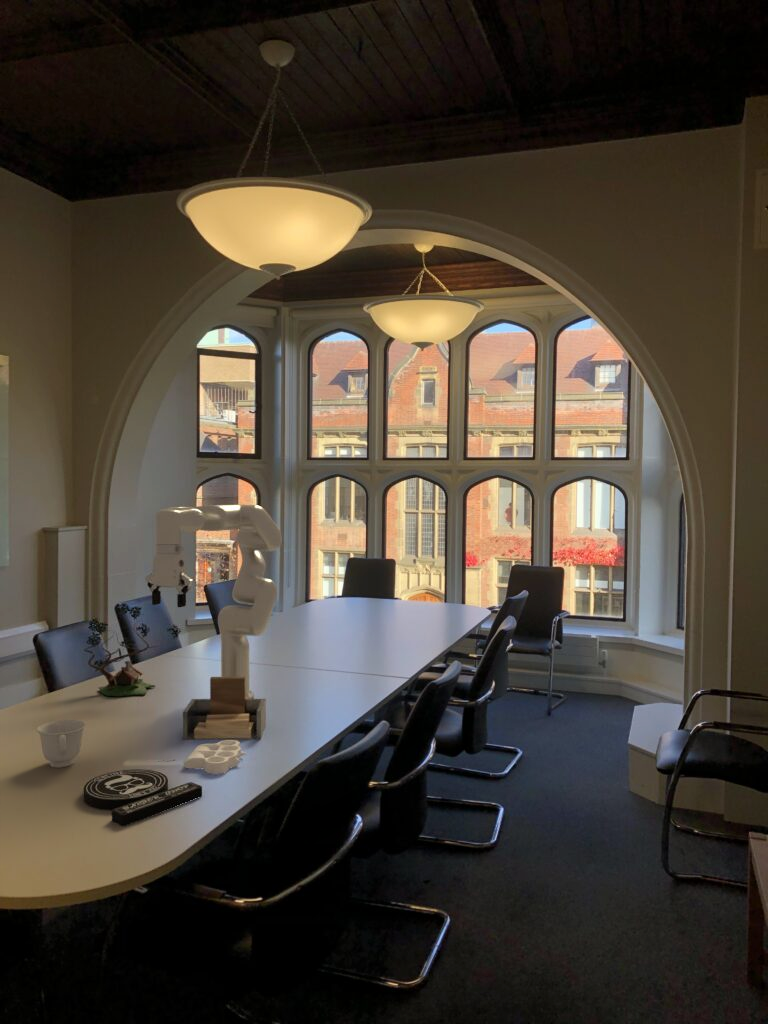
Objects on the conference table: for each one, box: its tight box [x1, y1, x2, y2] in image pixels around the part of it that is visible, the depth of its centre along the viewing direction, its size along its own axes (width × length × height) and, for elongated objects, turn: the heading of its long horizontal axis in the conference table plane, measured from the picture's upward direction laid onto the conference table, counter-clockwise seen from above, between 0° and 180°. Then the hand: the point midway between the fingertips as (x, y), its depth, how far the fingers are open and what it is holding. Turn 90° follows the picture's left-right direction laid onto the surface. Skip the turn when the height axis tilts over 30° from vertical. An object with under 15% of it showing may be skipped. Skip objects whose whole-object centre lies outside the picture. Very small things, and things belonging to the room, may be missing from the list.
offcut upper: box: [206, 714, 249, 730], centre depth 234 cm, size 6×12×2 cm, turn 98°
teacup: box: [36, 719, 87, 768], centre depth 212 cm, size 12×15×10 cm
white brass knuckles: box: [183, 739, 247, 775], centre depth 215 cm, size 3×18×15 cm
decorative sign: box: [83, 768, 203, 827], centre depth 192 cm, size 22×3×25 cm
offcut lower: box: [194, 722, 254, 738], centre depth 234 cm, size 7×16×2 cm, turn 92°
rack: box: [182, 698, 267, 741], centre depth 236 cm, size 13×22×9 cm, turn 92°
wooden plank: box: [209, 676, 245, 715], centre depth 240 cm, size 2×10×15 cm, turn 92°
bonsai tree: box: [83, 602, 182, 698], centre depth 280 cm, size 35×24×32 cm
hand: (168, 605), depth 248 cm, fingers open, 9 cm apart
